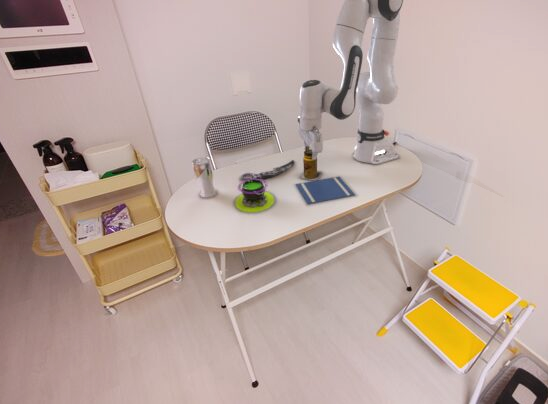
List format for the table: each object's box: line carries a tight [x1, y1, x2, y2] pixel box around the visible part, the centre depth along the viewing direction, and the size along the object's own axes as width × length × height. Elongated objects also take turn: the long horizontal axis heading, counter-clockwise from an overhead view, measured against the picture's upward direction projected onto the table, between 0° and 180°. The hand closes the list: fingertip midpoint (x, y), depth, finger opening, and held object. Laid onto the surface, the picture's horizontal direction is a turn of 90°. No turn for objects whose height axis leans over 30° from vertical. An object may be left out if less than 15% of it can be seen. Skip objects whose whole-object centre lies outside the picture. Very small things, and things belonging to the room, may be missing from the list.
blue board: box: [295, 176, 356, 205], centre depth 126 cm, size 20×16×1 cm
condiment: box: [300, 148, 323, 181], centre depth 133 cm, size 7×8×12 cm
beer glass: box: [191, 156, 217, 199], centre depth 119 cm, size 7×7×15 cm
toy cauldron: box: [235, 173, 275, 213], centre depth 116 cm, size 15×15×11 cm
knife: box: [240, 159, 295, 181], centre depth 139 cm, size 28×2×10 cm
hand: (310, 154), depth 131 cm, fingers open, 8 cm apart
